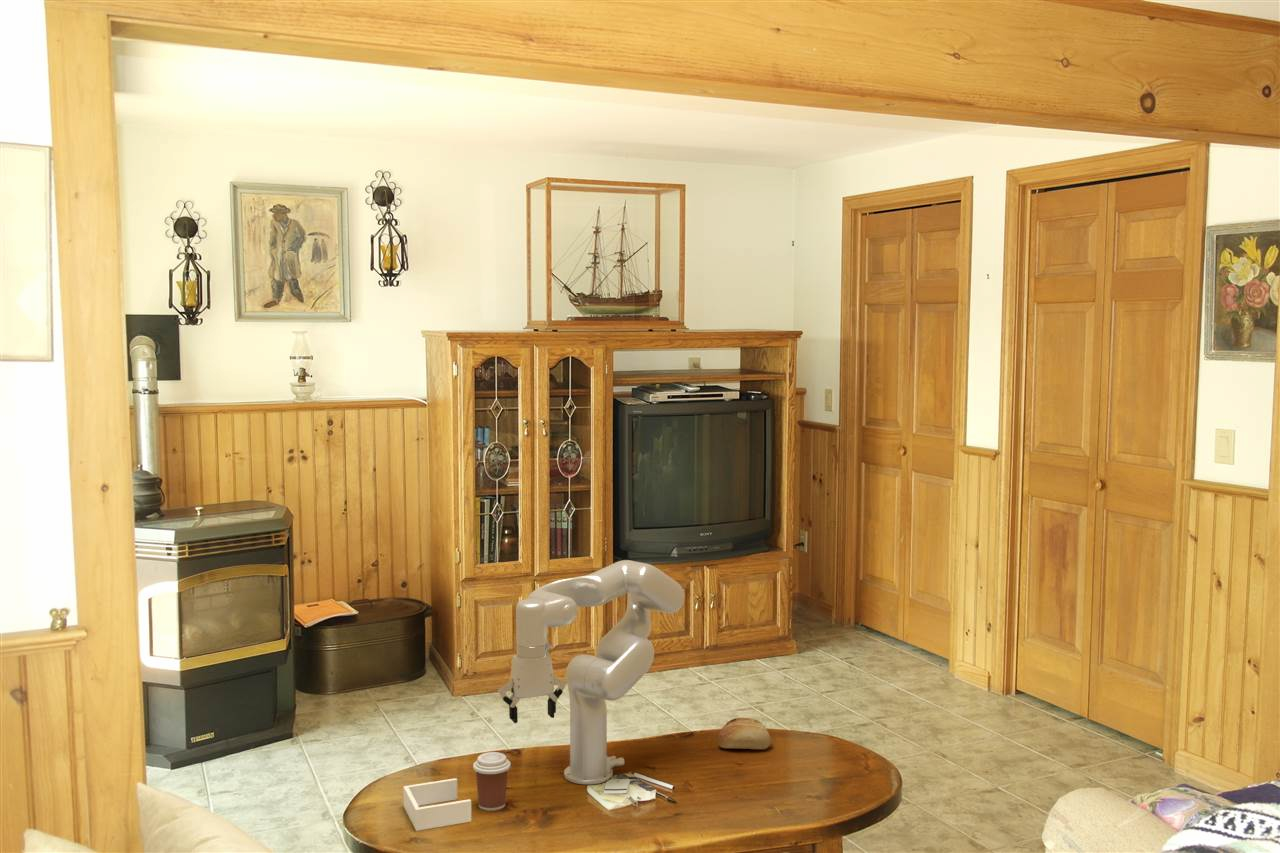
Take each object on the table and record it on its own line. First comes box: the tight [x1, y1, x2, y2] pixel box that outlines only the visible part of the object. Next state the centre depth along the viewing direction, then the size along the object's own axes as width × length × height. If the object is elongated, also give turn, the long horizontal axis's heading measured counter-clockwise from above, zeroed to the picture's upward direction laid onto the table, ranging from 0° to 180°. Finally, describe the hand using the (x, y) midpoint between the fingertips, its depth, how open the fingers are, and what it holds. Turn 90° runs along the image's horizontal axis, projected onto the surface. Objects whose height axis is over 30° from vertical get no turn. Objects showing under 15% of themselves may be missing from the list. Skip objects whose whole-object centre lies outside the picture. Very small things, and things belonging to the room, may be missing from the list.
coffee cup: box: [472, 751, 511, 812], centre depth 268 cm, size 9×9×12 cm
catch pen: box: [403, 777, 472, 832], centre depth 263 cm, size 13×14×5 cm
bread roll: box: [716, 717, 772, 750], centre depth 307 cm, size 10×15×8 cm, turn 94°
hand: (532, 718), depth 271 cm, fingers open, 9 cm apart
